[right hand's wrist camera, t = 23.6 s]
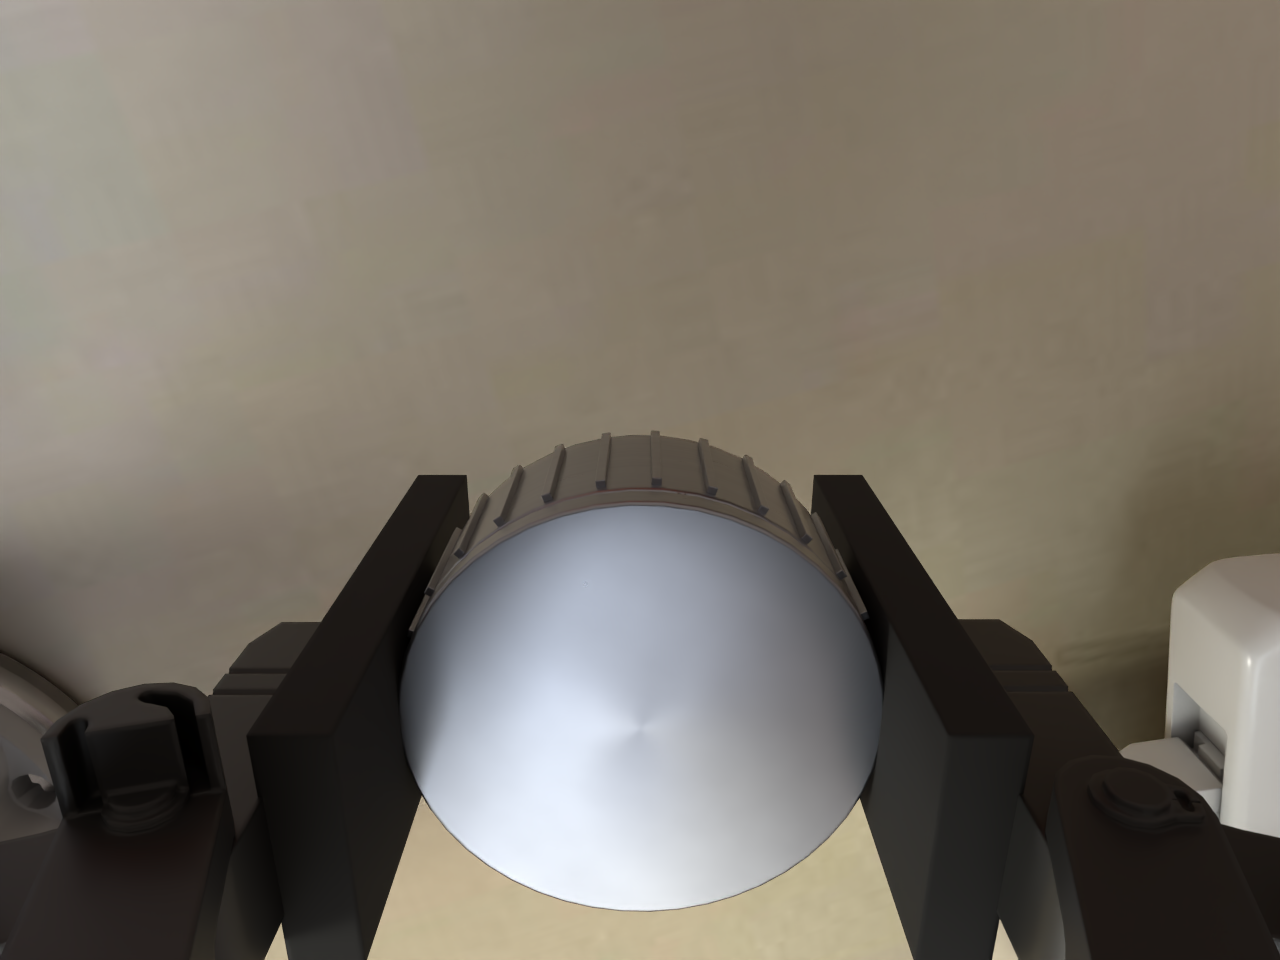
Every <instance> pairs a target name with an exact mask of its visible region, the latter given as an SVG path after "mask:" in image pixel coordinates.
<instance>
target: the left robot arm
mask: <svg viewBox="0 0 1280 960" xmlns="http://www.w3.org/2000/svg"><path fill="white" fill-rule="evenodd" d="M1119 752H1120V753H1121V755H1122V756H1123V757H1124V758H1127V759H1131V760H1135V761H1138V762H1142V763H1146V764H1150V765H1152V766H1154V767H1156V768H1158V769H1160V770H1162V771H1164V772H1166V773H1169V774H1171V775H1173V776H1175V777H1177V778H1179V779H1180V780H1182V781H1183V782H1184V783H1186V784H1187V785H1188V786H1190V787H1191V788H1192V789H1193V790H1195V791H1196V792H1197V793H1199V794H1200V795H1201V796H1203V798H1204V799H1205V800H1206V802H1207V803H1208V804H1209V806H1210V807H1211V808H1212V810H1213V811H1214V812H1215V814H1216V815H1217V816H1218V819H1219V821H1220V823H1221V824H1224V825H1227V826H1231V827H1234V828H1238V829H1242V830H1246V831H1251V832H1256V833H1260V834H1265V835H1270V836H1274V837H1279V838H1280V553H1273V554H1260V555H1249V556H1238V557H1231V558H1224V559H1219V560H1216V561H1213V562H1211V563H1209V564H1208V565H1206V566H1205V567H1204V568H1202V569H1201V570H1199V571H1198V572H1197V573H1195V574H1194V575H1193V576H1191V577H1190V578H1189V579H1188V580H1186V581H1185V582H1184V583H1183V584H1182V585H1180V586H1179V587H1178V588H1177V589H1176V590H1175V592H1174V594H1173V597H1172V605H1171V623H1170V644H1169V664H1168V684H1167V704H1166V723H1165V739H1159V740H1152V741H1145V742H1138V743H1131V744H1129V745H1128V746H1126V747H1125V748H1123V749H1122V750H1120V751H1119Z"/></svg>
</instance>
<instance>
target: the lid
mask: <svg viewBox="0 0 1280 960" xmlns="http://www.w3.org/2000/svg"><path fill="white" fill-rule="evenodd" d="M424 594H425V596H424V598H423V600H422V602H421V604H420V606H419V608H418V610H417V612H416V614H415V616H414V618H413V621H412V623H411V625H410V627H409V629H408V632H407V635H406V636H407V637H409V638H411V639H410V642H409V644H408V647H407V649H406V652H405V655H404V659H403V664H402V668H401V673H400V677H399V685H398V706H399V715H400V724H401V734H402V741H403V749H404V754H405V758H406V762H407V764H408V766H409V769H410V771H411V774H412V776H413V779H414V781H415V784H416V786H417V788H418V789H419V791H420V793H421V794H422V796H423V798H424V799H425V801H426V803H427V805H428V806H429V808H430V809H431V811H432V812H433V813H434V814H435V816H436V817H437V818H438V820H439V821H440V822H441V823H442V825H443V826H444V827H445V828H446V830H447V831H448V832H449V833H450V834H451V835H452V836H453V837H454V838H455V839H456V840H457V841H458V842H459V843H460V844H461V845H462V846H463V847H465V848H466V849H467V850H468V851H469V852H471V853H472V854H473V855H474V856H476V857H477V858H478V859H480V860H481V861H482V862H484V863H485V864H486V865H487V866H489V867H491V868H492V869H494V870H496V871H497V872H499V873H501V874H502V875H504V876H506V877H507V878H509V879H511V880H512V881H515V882H517V883H519V884H521V885H523V886H525V887H528V888H530V889H532V890H534V891H536V892H539V893H542V894H545V895H548V896H551V897H554V898H557V899H560V900H563V901H566V902H570V903H575V904H579V905H584V906H588V907H593V908H601V909H609V910H617V911H647V912H651V911H664V910H676V909H683V908H689V907H694V906H700V905H705V904H710V903H713V902H716V901H720V900H723V899H727V898H730V897H734V896H736V895H739V894H741V893H744V892H746V891H749V890H751V889H754V888H756V887H758V886H761V885H763V884H765V883H767V882H768V881H770V880H772V879H774V878H776V877H778V876H779V875H781V874H783V873H785V872H787V871H788V870H789V869H791V868H792V867H794V866H795V865H797V864H798V863H799V862H801V861H802V860H804V859H805V858H807V857H808V856H809V855H810V854H812V853H813V852H814V851H815V850H816V849H817V848H818V847H819V846H820V845H822V844H823V843H824V842H825V841H826V840H827V839H828V838H829V837H830V836H831V835H832V834H833V833H834V831H835V830H836V829H837V828H838V827H839V826H840V825H841V823H842V822H843V821H844V820H845V819H846V818H847V816H848V815H849V813H850V812H851V810H852V809H853V807H854V806H855V804H856V803H857V801H858V799H859V798H860V796H861V795H862V793H863V791H864V789H865V787H866V784H867V782H868V780H869V778H870V776H871V774H872V772H873V769H874V766H875V762H876V759H877V752H878V745H879V736H880V727H881V719H882V709H883V699H884V684H883V678H882V672H881V666H880V662H879V659H878V656H877V653H876V650H875V647H874V644H873V641H872V638H871V635H870V633H869V631H868V629H867V627H866V625H865V623H864V620H867V619H869V618H870V617H869V614H868V612H867V610H866V607H865V605H864V603H863V601H862V599H861V597H860V595H859V593H858V591H857V588H856V586H855V584H854V582H853V580H852V578H851V576H850V574H849V572H848V569H847V567H846V565H845V563H844V561H843V559H842V557H841V555H840V553H839V551H838V549H836V550H835V549H834V547H833V544H832V542H831V540H830V538H829V536H828V534H827V532H826V529H825V527H824V525H823V523H822V521H821V519H820V517H819V516H818V514H817V513H816V512H815V513H813V514H812V515H810V514H809V512H808V511H807V510H806V508H805V507H804V506H803V505H802V504H801V503H800V502H799V501H798V500H797V499H796V498H795V495H794V493H793V490H792V488H791V486H790V484H789V483H788V482H786V481H785V480H784V481H783V482H782V483H781V484H780V483H779V482H777V481H776V480H775V479H774V478H772V477H771V476H770V475H769V474H767V473H766V472H764V471H763V470H761V469H759V468H758V467H756V466H755V465H754V462H753V460H752V458H751V457H749V456H747V455H744V457H743V459H742V458H740V457H737V456H735V455H733V454H730V453H728V452H726V451H723V450H721V449H719V448H716V447H712V446H709V444H708V440H706V439H703V438H700V439H699V442H695V441H691V440H686V439H679V438H672V437H666V436H660V432H659V431H651V436H649V435H628V436H619V437H611V433H603V434H602V437H601V439H597V440H593V441H589V442H584V443H580V444H576V445H573V446H570V447H568V448H565V447H564V445H563V444H561V445H558V446H556V447H555V449H554V453H551V454H549V455H547V456H545V457H543V458H541V459H539V460H537V461H536V462H534V463H532V464H530V465H528V466H526V467H524V468H522V466H521V465H518V466H516V467H515V468H514V469H513V471H512V473H511V476H510V478H509V479H507V480H506V481H505V482H503V483H502V484H501V485H500V486H499V487H498V488H497V489H496V490H495V491H494V492H493V493H491V494H490V495H489V496H487V495H486V494H485V493H483V494H482V495H481V496H480V497H479V499H478V501H477V503H476V505H475V507H474V510H473V512H472V514H471V516H470V518H469V520H468V521H467V523H466V525H465V526H464V528H463V530H461V529H459V528H458V527H456V529H455V530H454V532H453V534H452V536H451V538H450V540H449V542H448V544H447V546H446V549H445V551H444V553H443V555H442V557H441V559H440V561H439V563H438V565H437V567H436V569H435V571H434V573H433V575H432V577H431V579H430V581H429V584H428V586H427V588H426V590H425V592H424Z"/></svg>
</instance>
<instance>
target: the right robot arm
mask: <svg viewBox="0 0 1280 960" xmlns="http://www.w3.org/2000/svg"><path fill="white" fill-rule="evenodd" d="M815 512H816V513H817V514H818V516H819V517H820V519H821V521H822V523H823V525H824V527H825V529H826V532H827V534H828V536H829V538H830V540H831V542H832V544H833V547H834V549H835V550H836V549H838V551H839V553H840V555H841V557H842V559H843V561H844V563H845V565H846V567H847V569H848V572H849V574H850V576H851V578H852V580H853V582H854V584H855V586H856V588H857V591H858V593H859V595H860V597H861V599H862V601H863V603H864V605H865V607H866V610H867V612H868V614H869V617H870V618H869V619H867V620H864V623H865V625H866V627H867V629H868V631H869V633H870V635H871V638H872V641H873V644H874V647H875V650H876V653H877V656H878V659H879V662H880V666H881V672H882V678H883V684H884V699H883V709H882V719H881V727H880V736H879V745H878V752H877V759H876V762H875V766H874V769H873V772H872V774H871V776H870V778H869V780H868V782H867V784H866V787H865V789H864V791H863V793H862V795H861V796H860V800H861V803H862V806H863V809H864V812H865V815H866V818H867V821H868V824H869V827H870V830H871V833H872V836H873V839H874V842H875V845H876V848H877V851H878V854H879V857H880V860H881V863H882V866H883V869H884V872H885V875H886V878H887V881H888V884H889V887H890V890H891V893H892V896H893V899H894V902H895V905H896V908H897V911H898V914H899V917H900V920H901V923H902V926H903V929H904V932H905V935H906V938H907V941H908V944H909V947H910V950H911V953H912V956H913V959H914V960H992V958H993V952H994V947H995V942H996V936H997V931H998V926H999V921H1000V920H1001V923H1002V925H1003V927H1004V929H1005V931H1006V933H1007V936H1008V938H1009V940H1010V942H1011V944H1012V946H1013V949H1014V951H1015V953H1016V955H1017V957H1018V960H1280V838H1279V837H1274V836H1270V835H1265V834H1260V833H1256V832H1251V831H1246V830H1242V829H1238V828H1234V827H1231V826H1227V825H1224V824H1221V823H1220V821H1219V819H1218V816H1217V815H1216V814H1215V812H1214V811H1213V810H1212V808H1211V807H1210V806H1209V804H1208V803H1207V802H1206V800H1205V799H1204V798H1203V796H1201V795H1200V794H1199V793H1197V792H1196V791H1195V790H1193V789H1192V788H1191V787H1190V786H1188V785H1187V784H1186V783H1184V782H1183V781H1182V780H1180V779H1179V778H1177V777H1175V776H1173V775H1171V774H1169V773H1166V772H1164V771H1162V770H1160V769H1158V768H1156V767H1154V766H1152V765H1150V764H1146V763H1142V762H1138V761H1135V760H1131V759H1127V758H1124V757H1123V756H1122V755H1121V753H1120V752H1119V751H1118V750H1117V748H1116V747H1115V746H1114V745H1113V743H1112V742H1111V741H1110V739H1109V738H1108V737H1107V736H1106V734H1105V733H1104V732H1103V730H1102V729H1101V728H1100V727H1099V725H1098V724H1097V723H1096V722H1095V720H1094V719H1093V718H1092V716H1091V715H1090V714H1089V713H1088V711H1087V710H1086V709H1085V707H1084V706H1083V705H1082V704H1081V702H1080V701H1079V700H1078V699H1077V697H1076V696H1075V695H1074V693H1073V692H1069V691H1068V686H1067V684H1066V683H1065V682H1064V681H1063V679H1062V678H1061V677H1060V676H1059V674H1058V673H1057V672H1056V671H1052V665H1051V664H1050V663H1049V662H1048V660H1047V659H1046V658H1045V656H1044V655H1043V654H1042V653H1041V651H1040V650H1039V649H1038V647H1037V646H1036V645H1035V644H1034V642H1033V641H1032V640H1030V639H1029V638H1027V637H1026V636H1024V635H1023V634H1021V633H1019V632H1018V631H1016V630H1015V629H1013V628H1012V627H1010V626H1009V625H1007V624H1006V623H1004V622H1002V621H1001V620H999V619H957V618H956V616H955V615H954V613H953V611H952V610H951V608H950V607H949V605H948V604H947V602H946V601H945V599H944V598H943V596H942V595H941V593H940V592H939V590H938V589H937V587H936V586H935V584H934V583H933V581H932V580H931V578H930V577H929V575H928V574H927V572H926V571H925V569H924V568H923V566H922V565H921V563H920V562H919V560H918V559H917V557H916V556H915V554H914V553H913V551H912V550H911V548H910V547H909V545H908V544H907V542H906V540H905V539H904V537H903V536H902V534H901V533H900V531H899V530H898V528H897V527H896V525H895V524H894V522H893V521H892V519H891V518H890V516H889V515H888V513H887V512H886V510H885V509H884V507H883V506H882V504H881V503H880V501H879V500H878V498H877V497H876V495H875V494H874V492H873V491H872V489H871V488H870V486H869V485H868V483H867V482H866V480H865V479H864V477H863V476H862V475H814V482H813V495H812V509H811V515H812V514H813V513H815ZM469 518H470V515H469V502H468V488H467V475H418V476H417V478H416V479H415V481H414V482H413V484H412V485H411V487H410V488H409V490H408V491H407V493H406V495H405V496H404V498H403V499H402V501H401V502H400V504H399V505H398V507H397V508H396V510H395V511H394V513H393V514H392V516H391V517H390V519H389V520H388V522H387V523H386V525H385V526H384V528H383V529H382V531H381V532H380V534H379V535H378V537H377V538H376V540H375V541H374V543H373V544H372V546H371V547H370V549H369V550H368V552H367V553H366V555H365V556H364V558H363V559H362V561H361V563H360V564H359V566H358V567H357V569H356V570H355V572H354V573H353V575H352V576H351V578H350V579H349V581H348V582H347V584H346V585H345V587H344V588H343V590H342V591H341V593H340V594H339V596H338V597H337V599H336V600H335V602H334V603H333V605H332V606H331V608H330V609H329V611H328V612H327V614H326V615H325V617H324V618H323V620H322V621H321V622H281V623H280V624H278V625H277V626H275V627H274V628H272V629H271V630H269V631H268V632H266V633H265V634H263V635H261V636H260V637H258V638H257V639H255V640H254V641H252V642H251V643H249V644H248V645H247V647H246V648H245V649H244V651H243V652H242V653H241V654H240V656H239V657H238V658H237V660H236V661H235V662H234V663H233V665H232V666H231V667H230V669H229V674H225V675H224V676H223V678H222V679H221V680H220V681H219V683H218V684H217V685H216V687H215V688H214V689H213V695H209V696H208V697H207V696H206V695H204V694H203V693H202V692H201V691H199V690H198V689H197V688H196V687H191V686H187V685H182V684H177V683H153V684H142V685H137V686H133V687H129V688H124V689H120V690H116V691H112V692H110V693H107V694H105V695H102V696H100V697H97V698H95V699H93V700H90V701H88V702H85V703H83V704H81V705H79V706H78V705H77V704H76V703H75V702H74V701H73V700H72V699H70V698H69V697H68V696H67V695H66V694H64V693H63V692H62V691H61V690H59V689H58V688H57V687H56V686H54V685H53V684H52V683H50V682H49V681H47V680H46V679H44V678H43V677H42V676H40V675H39V674H37V673H36V672H34V671H33V670H31V669H29V668H28V667H26V666H24V665H22V664H21V663H19V662H17V661H16V660H14V659H12V658H10V657H8V656H6V655H4V654H2V653H0V960H264V959H265V957H266V955H267V952H268V950H269V948H270V946H271V944H272V941H273V939H274V937H275V935H276V933H277V931H278V928H279V926H280V924H281V923H282V928H283V933H284V939H285V944H286V949H287V955H288V960H367V958H368V955H369V952H370V949H371V946H372V943H373V940H374V937H375V934H376V931H377V928H378V925H379V922H380V919H381V916H382V913H383V910H384V907H385V904H386V901H387V898H388V895H389V892H390V889H391V886H392V883H393V880H394V877H395V874H396V871H397V868H398V865H399V862H400V859H401V856H402V853H403V850H404V847H405V844H406V841H407V838H408V835H409V832H410V829H411V826H412V823H413V820H414V817H415V814H416V811H417V808H418V805H419V802H420V799H421V796H422V794H421V793H420V791H419V789H418V788H417V786H416V784H415V781H414V779H413V776H412V774H411V771H410V769H409V766H408V764H407V762H406V758H405V754H404V749H403V741H402V734H401V724H400V715H399V706H398V685H399V677H400V673H401V668H402V664H403V659H404V655H405V652H406V649H407V647H408V644H409V642H410V639H411V638H409V637H407V636H406V635H407V632H408V629H409V627H410V625H411V623H412V621H413V618H414V616H415V614H416V612H417V610H418V608H419V606H420V604H421V602H422V600H423V598H424V596H425V594H424V592H425V590H426V588H427V586H428V584H429V581H430V579H431V577H432V575H433V573H434V571H435V569H436V567H437V565H438V563H439V561H440V559H441V557H442V555H443V553H444V551H445V549H446V546H447V544H448V542H449V540H450V538H451V536H452V534H453V532H454V530H455V529H456V527H458V528H459V529H461V530H463V528H464V526H465V525H466V523H467V521H468V520H469Z"/></svg>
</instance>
